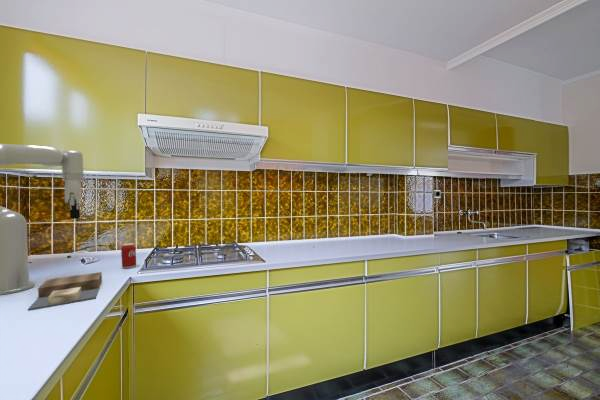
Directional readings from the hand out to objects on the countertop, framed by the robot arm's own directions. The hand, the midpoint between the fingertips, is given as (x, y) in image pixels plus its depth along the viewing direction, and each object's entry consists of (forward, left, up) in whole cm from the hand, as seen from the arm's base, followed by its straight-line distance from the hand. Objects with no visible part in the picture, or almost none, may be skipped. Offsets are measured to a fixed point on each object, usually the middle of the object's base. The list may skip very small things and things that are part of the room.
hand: (75, 218), depth 128 cm
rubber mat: (+1, -32, -27) cm, 42 cm away
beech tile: (+1, -33, -24) cm, 41 cm away
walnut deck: (+1, -20, -27) cm, 34 cm away
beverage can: (+20, +6, -27) cm, 34 cm away
